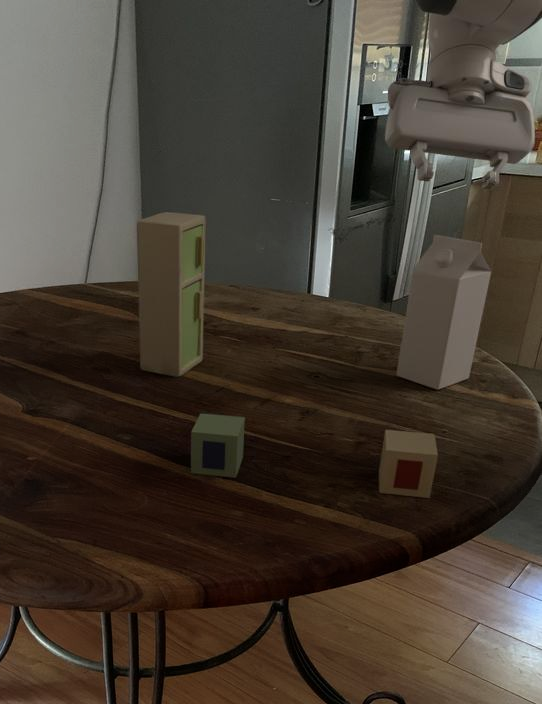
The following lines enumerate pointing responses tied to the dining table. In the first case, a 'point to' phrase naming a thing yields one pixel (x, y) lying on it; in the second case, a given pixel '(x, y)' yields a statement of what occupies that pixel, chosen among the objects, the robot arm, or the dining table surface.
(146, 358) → the toy refrigerator
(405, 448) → the cream letter block
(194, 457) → the sage letter block
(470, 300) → the milk carton
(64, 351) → the dining table surface
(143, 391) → the dining table surface
